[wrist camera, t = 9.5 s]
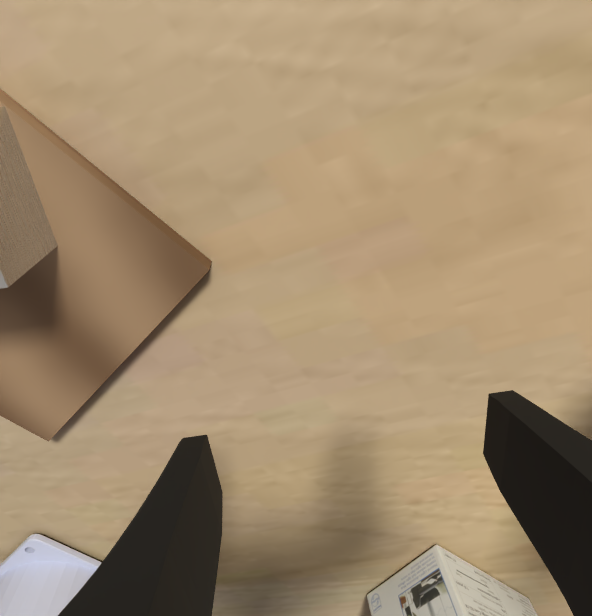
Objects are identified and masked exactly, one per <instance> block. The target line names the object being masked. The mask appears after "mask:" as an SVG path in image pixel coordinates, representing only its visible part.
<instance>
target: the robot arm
mask: <svg viewBox="0 0 592 616" xmlns="http://www.w3.org/2000/svg"><path fill="white" fill-rule="evenodd" d="M483 454H484V457H485V459H486V461H487V464H488V466H489V468H490V470H491V473H492V475H493V477H494V479H495V481H496V483H497V485H498V487H499V490H500V492H501V493H502V495H503V497H504V498H505V500H506V502H507V503H508V505H509V507H510V508H511V510H512V511H513V513H514V515H515V516H516V518H517V520H518V521H519V523H520V525H521V526H522V528H523V529H524V531H525V533H526V534H527V536H528V537H529V539H530V541H531V542H532V544H533V546H534V547H535V549H536V550H537V552H538V554H539V555H540V557H541V558H542V560H543V562H544V563H545V565H546V567H547V568H548V570H549V571H550V573H551V575H552V576H553V578H554V580H555V581H556V583H557V585H558V587H559V588H560V590H561V592H562V594H563V596H564V597H565V599H566V601H567V603H568V605H569V607H570V609H571V611H572V613H573V615H574V616H592V441H591V440H590V439H588V438H587V437H585V436H583V435H582V434H580V433H579V432H577V431H575V430H574V429H572V428H571V427H569V426H567V425H566V424H564V423H563V422H561V421H560V420H558V419H557V418H555V417H553V416H552V415H550V414H549V413H547V412H546V411H544V410H543V409H541V408H540V407H538V406H537V405H535V404H533V403H532V402H530V401H529V400H527V399H526V398H524V397H522V396H521V395H519V394H518V393H516V392H514V391H513V390H512V391H505V392H498V393H491V394H489V398H488V408H487V419H486V430H485V440H484V451H483ZM221 536H222V489H221V485H220V481H219V478H218V474H217V470H216V467H215V463H214V459H213V455H212V452H211V448H210V444H209V441H208V437H207V435H202V436H195V437H188V438H183V439H182V440H181V441H180V442H179V444H178V446H177V448H176V449H175V451H174V453H173V455H172V457H171V458H170V460H169V462H168V464H167V465H166V467H165V469H164V471H163V472H162V474H161V476H160V477H159V479H158V481H157V482H156V484H155V486H154V487H153V489H152V490H151V492H150V494H149V495H148V497H147V498H146V500H145V502H144V503H143V505H142V506H141V508H140V510H139V511H138V513H137V514H136V516H135V517H134V519H133V520H132V521H131V523H130V524H129V526H128V527H127V529H126V530H125V531H124V533H123V534H122V536H121V537H120V539H119V540H118V541H117V543H116V544H115V546H114V547H113V548H112V550H111V551H110V553H109V554H108V555H107V557H106V558H105V559H104V560H103V562H100V561H98V560H95V559H93V558H91V557H89V556H87V555H85V554H82V553H80V552H78V551H76V550H74V549H71V548H69V547H67V546H65V545H63V544H61V543H58V542H56V541H54V540H52V539H50V538H47V537H45V536H43V535H40V534H32V535H30V536H29V537H28V538H27V539H26V540H25V541H24V542H23V543H22V544H21V545H20V546H19V547H18V548H17V549H16V550H15V551H14V552H13V553H11V554H10V555H9V556H8V557H7V558H6V559H5V560H4V561H3V562H2V563H1V564H0V616H212V608H213V600H214V592H215V584H216V577H217V569H218V561H219V553H220V544H221Z"/></svg>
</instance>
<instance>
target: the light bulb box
mask: <svg viewBox="0 0 592 616" xmlns="http://www.w3.org/2000/svg"><path fill="white" fill-rule="evenodd" d="M367 599H368V604H369V608H370V612H371V616H538V615H537V613H536V611H535V609H534V608H533V606H532V604H531V602H530V600H529V598H528V597H525V596H524V595H522V594H520V593H519V592H517V591H515V590H513V589H512V588H510V587H508V586H507V585H505V584H503V583H502V582H500V581H498V580H496V579H495V578H493V577H491V576H490V575H488V574H486V573H485V572H483V571H481V570H479V569H478V568H476V567H474V566H473V565H471V564H469V563H468V562H466V561H464V560H462V559H461V558H459V557H457V556H456V555H454V554H452V553H450V552H449V551H447V550H445V549H444V548H442V547H440V546H439V545H434V546H433V547H432V548H431V549H429V550H428V551H427V552H425V553H424V554H422V555H421V556H420V557H418V558H417V559H416V560H414V561H413V562H411V563H410V564H409V565H407V566H406V567H405V568H403V569H402V570H400V571H399V572H398V573H396V574H395V575H394V576H392V577H391V578H390V579H388V580H387V581H385V582H384V583H383V584H381V585H380V586H378V587H377V588H376V589H374V590H373V591H371V592H370V593H369V594H367Z"/></svg>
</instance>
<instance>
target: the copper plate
mask: <svg viewBox="0 0 592 616" xmlns="http://www.w3.org/2000/svg"><path fill="white" fill-rule="evenodd" d="M4 106H5V107H6V110H7V113H8V115H9V118H10V121H11V123H12V126H13V129H14V131H15V134H16V137H17V139H18V142H19V144H20V147H21V150H22V152H23V155H24V158H25V160H26V163H27V166H28V168H29V171H30V174H31V176H32V179H33V182H34V184H35V187H36V189H37V192H38V195H39V197H40V200H41V203H42V205H43V208H44V211H45V213H46V216H47V219H48V221H49V224H50V226H51V229H52V232H53V234H54V237H55V240H56V242H57V245H58V246H57V247H56V248H54V249H53V250H52V251H51V252H50V253H48V254H47V255H46V256H45V257H44V258H43V259H41V260H40V261H39V262H38V263H37V264H35V265H34V266H33V267H32V268H31V269H29V270H28V271H27V272H26V273H25V274H23V275H22V276H21V277H20V278H19V279H18V280H16V281H15V282H14V283H13V284H12V285H10V286H9V287H8V288H1V289H0V416H2V417H4V418H6V419H8V420H10V421H12V422H13V423H15V424H17V425H19V426H21V427H23V428H24V429H26V430H28V431H30V432H32V433H34V434H35V435H37V436H39V437H41V438H43V439H45V440H47V441H49V440H50V439H51V438H52V437H53V436H54V435H55V434H56V433H57V432H58V431H59V430H60V429H61V428H62V426H63V425H64V424H65V423H66V422H67V421H68V420H69V419H70V418H71V417H72V416H73V415H74V414H75V413H76V412H77V410H78V409H79V408H80V407H81V406H82V405H83V404H84V403H85V402H86V401H87V400H88V399H89V398H90V397H91V396H92V394H93V393H94V392H95V391H96V390H97V389H98V388H99V387H100V386H101V385H102V384H103V383H104V382H105V381H106V380H107V379H108V377H109V376H110V375H111V374H112V373H113V372H114V371H115V370H116V369H117V368H118V367H119V366H120V365H121V364H122V363H123V361H124V360H125V359H126V358H127V357H128V356H129V355H130V354H131V353H132V352H133V351H134V350H135V349H136V348H137V347H138V346H139V344H140V343H141V342H142V341H143V340H144V339H145V338H146V337H147V336H148V335H149V334H150V333H151V332H152V331H153V330H154V328H155V327H156V326H157V325H158V324H159V323H160V322H161V321H162V320H163V319H164V318H165V317H166V316H167V315H168V314H169V313H170V311H171V310H172V309H173V308H174V307H175V306H176V305H177V304H178V303H179V302H180V301H181V300H182V299H183V298H184V297H185V295H186V294H187V293H188V292H189V291H190V290H191V289H192V288H193V287H194V286H195V285H196V284H197V283H198V282H199V281H200V280H201V278H202V277H203V276H204V275H205V274H206V273H207V272H208V271H209V270H210V266H211V262H212V261H211V260H210V259H208V258H207V257H206V256H205V255H203V254H202V253H201V252H200V251H199V250H197V249H196V248H195V247H194V246H192V245H191V244H190V243H189V242H187V241H186V240H185V239H184V238H183V237H181V236H180V235H179V234H178V233H176V232H175V231H174V230H173V229H172V228H170V227H169V226H168V225H167V224H165V223H164V222H163V221H162V220H161V219H159V218H158V217H157V216H156V215H154V214H153V213H152V212H151V211H149V210H148V209H147V208H146V207H145V206H143V205H142V204H141V203H140V202H138V201H137V200H136V199H135V198H134V197H132V196H131V195H130V194H129V193H127V192H126V191H125V190H124V189H123V188H121V187H120V186H119V185H118V184H116V183H115V182H114V181H113V180H111V179H110V178H109V177H108V176H107V175H105V174H104V173H103V172H102V171H100V170H99V169H98V168H97V167H96V166H94V165H93V164H92V163H91V162H89V161H88V160H87V159H86V158H85V157H83V156H82V155H81V154H80V153H78V152H77V151H76V150H75V149H74V148H72V147H71V146H70V145H69V144H67V143H66V142H65V141H64V140H62V139H61V138H60V137H59V136H58V135H56V134H55V133H54V132H53V131H51V130H50V129H49V128H48V127H47V126H45V125H44V124H43V123H42V122H40V121H39V120H38V119H37V118H36V117H34V116H33V115H32V114H31V113H29V112H28V111H27V110H26V109H24V108H23V107H22V106H21V105H20V104H18V103H17V102H16V101H15V100H13V99H12V98H11V97H10V96H9V95H7V94H6V93H5V92H4V91H2V90H1V89H0V107H4Z"/></svg>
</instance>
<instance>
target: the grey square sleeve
mask: <svg viewBox="0 0 592 616" xmlns="http://www.w3.org/2000/svg"><path fill="white" fill-rule="evenodd" d="M57 246H58V245H57V242H56V240H55V237H54V234H53V232H52V229H51V226H50V224H49V221H48V219H47V216H46V213H45V211H44V208H43V205H42V203H41V200H40V197H39V195H38V192H37V189H36V187H35V184H34V182H33V179H32V176H31V174H30V171H29V168H28V166H27V163H26V160H25V158H24V155H23V152H22V150H21V147H20V144H19V142H18V139H17V137H16V134H15V131H14V129H13V126H12V123H11V121H10V118H9V115H8V113H7V110H6V107H5V106H4V107H0V289H1V288H8V287H9V286H10V285H12V284H13V283H14V282H15V281H16V280H18V279H19V278H20V277H21V276H22V275H23V274H25V273H26V272H27V271H28V270H29V269H31V268H32V267H33V266H34V265H35V264H37V263H38V262H39V261H40V260H41V259H43V258H44V257H45V256H46V255H47V254H48V253H50V252H51V251H52V250H53V249H54V248H56V247H57Z"/></svg>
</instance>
